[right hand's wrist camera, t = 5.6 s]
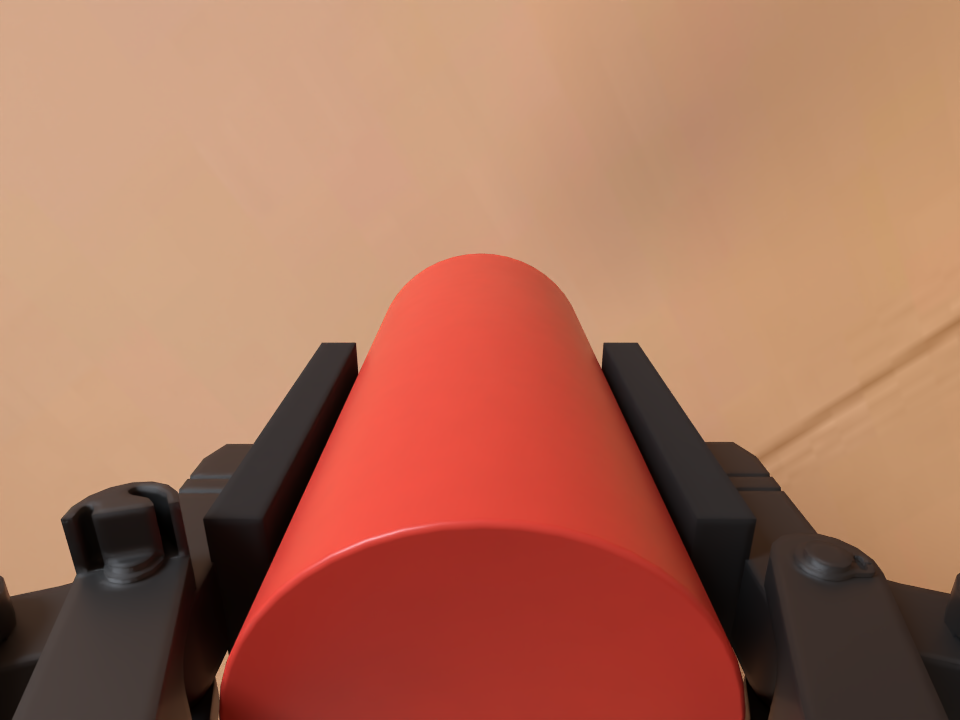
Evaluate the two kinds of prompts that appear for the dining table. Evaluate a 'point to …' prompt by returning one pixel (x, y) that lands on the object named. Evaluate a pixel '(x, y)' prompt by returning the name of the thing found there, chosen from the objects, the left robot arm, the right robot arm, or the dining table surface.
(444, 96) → the dining table surface
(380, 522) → the can
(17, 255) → the dining table surface
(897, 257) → the dining table surface
